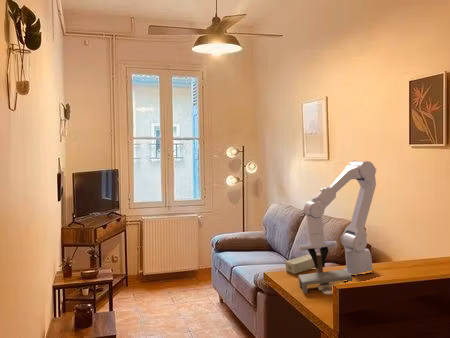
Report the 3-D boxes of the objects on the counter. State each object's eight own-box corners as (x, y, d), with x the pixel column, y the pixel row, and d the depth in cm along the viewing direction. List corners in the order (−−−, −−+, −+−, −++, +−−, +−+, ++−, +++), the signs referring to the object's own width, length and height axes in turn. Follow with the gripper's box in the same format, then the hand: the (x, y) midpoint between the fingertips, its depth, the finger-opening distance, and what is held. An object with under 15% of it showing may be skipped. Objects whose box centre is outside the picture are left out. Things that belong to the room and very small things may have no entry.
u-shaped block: (346, 279, 164) (345, 269, 163) (353, 287, 156) (352, 276, 155) (299, 285, 164) (298, 275, 163) (303, 293, 156) (302, 282, 155)
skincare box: (294, 274, 177) (318, 267, 182) (293, 264, 176) (317, 257, 182) (285, 270, 182) (309, 264, 188) (284, 260, 182) (308, 254, 187)
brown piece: (327, 276, 169) (324, 252, 169) (335, 288, 157) (332, 261, 156) (311, 278, 169) (309, 253, 169) (319, 290, 157) (316, 263, 156)
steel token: (334, 289, 157) (334, 286, 157) (337, 294, 152) (337, 291, 152) (320, 290, 157) (320, 288, 157) (323, 296, 152) (323, 293, 152)
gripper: (332, 227, 169) (335, 261, 170) (295, 232, 169) (299, 266, 170) (337, 231, 162) (340, 267, 163) (298, 236, 162) (302, 271, 163)
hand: (319, 267), depth 166 cm, fingers closed on brown piece
